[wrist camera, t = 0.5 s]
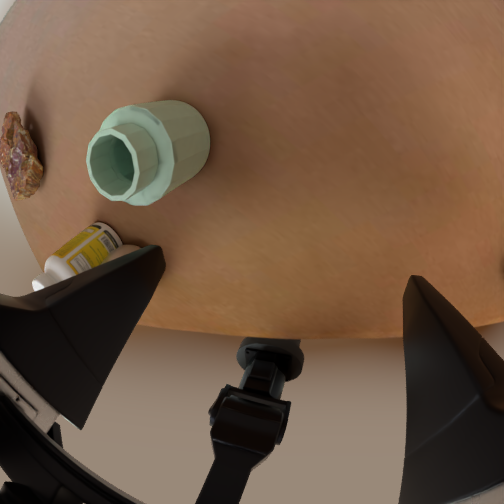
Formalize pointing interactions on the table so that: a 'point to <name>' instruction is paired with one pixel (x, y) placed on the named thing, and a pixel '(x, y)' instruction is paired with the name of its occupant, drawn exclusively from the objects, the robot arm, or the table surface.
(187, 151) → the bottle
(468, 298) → the table surface
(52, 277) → the pill bottle
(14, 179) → the mineral specimen
